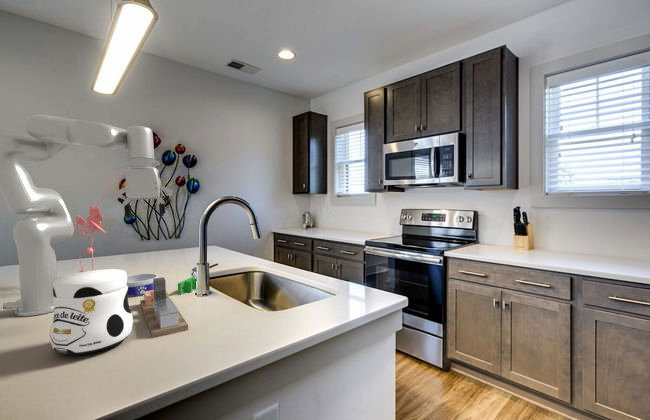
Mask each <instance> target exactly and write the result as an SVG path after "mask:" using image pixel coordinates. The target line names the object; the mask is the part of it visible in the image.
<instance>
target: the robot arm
mask: <svg viewBox="0 0 650 420" xmlns="http://www.w3.org/2000/svg"><path fill="white" fill-rule="evenodd" d="M24 129H25V131H26V132H27V134H29V136H28V135H23V134H18V133H13V132H0V193H1V195H2V197H3V199H4V202H5V204H6V206H7V209H8V210H9V212H11V213H12V214H13V215H15V216H33V217H27V218H23V219H22V220H20V221H18V222H17V223H16V224H14V226H13V231H12V236H13V240H14V243H15V246H16V251H17V256H18V257H17V259H18V272H19V289H20V290H19V291H20V298H19V299H16V300H15V301H12V302H11V301H8V302H3V303H2V309H3V310H13V309H15V310H14V315H15V316H17V317H33V316H38V315H44V314H49V313H51V312H52V313H54V306H53V296H54V295H53V283H54V280H55V279H56V278H58V267H57V266H58V265H57V256H56V253H55V250H54V249H53V247H52V246H51V244H55V243H61V242H65V241H67V240H69V239H71V238H72V236H73V235H74V233H75V225H74V221H73V220H72V217H71V215H70V212H69V210H68V208H67V206H66V203H65V201H64V199H63V197H62V195H61V194H60V193H59V192H58V191H56V190H54V189H52V188H47V187H37V186H36V185H35V184H34V182H33V180H32V177H31V175H30V173H29V172H28V170H27V169H26V168H25V167H24V166H23V165H22V164H21V163H19V162H18V160H19V161H25V162H34V163H36V162H37V163H42V162H46V161H49V160H50V159H52V158H53V157H55V156H56V155H57V154H59V153H60V152H61V151H63V150H65V149H66V148H67V147H68V146H78V147H79V146H81V145H84V146H90V147H94V148H101V149H105V150H106V149H107V150H111V151H116V152H120V153H121V152H122V153H127V156H128V168H127V169H126V173H125V184H124V185H125V186H124V187H122V188H120V189H118V190H117V191H115V192H113V195H114V197H115V199H116V200H117V202H119V203H120V204H121V205H122V206H123V207H124V216H126V219H131V218H133V213H132V206H131V203H132V202H133V201H134V200H136V201H137V200H153V199H154V200H157V201H158V202H159V204H158V208H159V209H158V210H159V211H158V212H159V216H160V217H164V216H165V214H166V204H167V202H169V200H170V199H171V197H172V195H173V193H174V190H172V189H170V188H168V187H166V186H163V185H162V180H161V175H160V172H159V169H158V168H156V167H157V166H160V164H161V163H160V161H159V160H158V161H157V160H156V159H155V148H154V147H155V146H154V135H153V130H152V129H151V128H150V127H148V126H144V125H131V126H128V127H127V128H126V129H125V128H120V127H117V126H114V125H110V124H107V123H104V122H103V123H102V122H98V121H90V120H83V119H75V118H68V117H67V118H66V117H61V116H55V115H50V114H49V115H48V114H39V113H38V114H33V115H30V116H28V117H27V118H26V119H25V120H24ZM163 192H166V196H164V197H163ZM122 194H125V197H126V199H124V198H123V197H122V196H121V195H122Z"/></svg>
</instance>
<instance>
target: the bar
mask: <svg viewBox="0 0 650 420" xmlns="http://www.w3.org/2000/svg"><path fill="white" fill-rule="evenodd" d="M153 283H154V301H155V300H161V299H166V291H167V290H166V288H167V287H166V283H167V282H166V278H165V277H158V278H154V279H153Z"/></svg>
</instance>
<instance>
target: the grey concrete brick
mask: <svg viewBox="0 0 650 420" xmlns="http://www.w3.org/2000/svg"><path fill="white" fill-rule="evenodd" d="M153 309H154V316H155V318H156V320H157V322H158V325H159V327H160V329H165V328H170V327H174V326H179V312H180V310H179V309H178V307H177V306H176V304H175V303H174V302H173V300H172V298H170V297H169V298H166V299H161V300H155V301H153Z"/></svg>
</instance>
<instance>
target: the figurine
mask: <svg viewBox="0 0 650 420" xmlns="http://www.w3.org/2000/svg"><path fill="white" fill-rule="evenodd" d="M103 220H104V215H103V214H102V213H101V208H100V207H99V204H98V205H97V204H96V206H95V207H94V206H93V205H92V204H91V205H90V208H89V216H87V217H86V220H85V219H84V218H83V217H82V216H80V215H79V214H77V216H76V217H75V221H76V226H75V230H74V233H75V234H76V233H77V234H78V233H81V234H83V235H84V236H85V237H88V236H89V237H91V242H90V243H91V244H90V247H87V249H86V251H85V252H86V253H84V254H82V255H80V256H78V258H79V263H80V266H81V269H82V270H80V271H79V272H85V271H86V270H84V267H83V263H82V260H81V257H83V256H85V255H91V261H92V262H91V263H92V265H91V266H92V267H91V268H92V271H93V270H95V269H94V251H95V250H94V249H93V242H94V239H95V237H94V236H93V235H91V234H89V232H91V233H92V234H93V233H94V232H95V231H96V232H97V233H99V232H100V231H101V232H103V233H104V234H107V232H106V231H105V230H104V229H103V228H102V227H101V226H102V221H103ZM79 225H80V226H81V227H82V228H83V229H82V230H78V226H79ZM86 228H87V230H86ZM85 230H86V232H85Z"/></svg>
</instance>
